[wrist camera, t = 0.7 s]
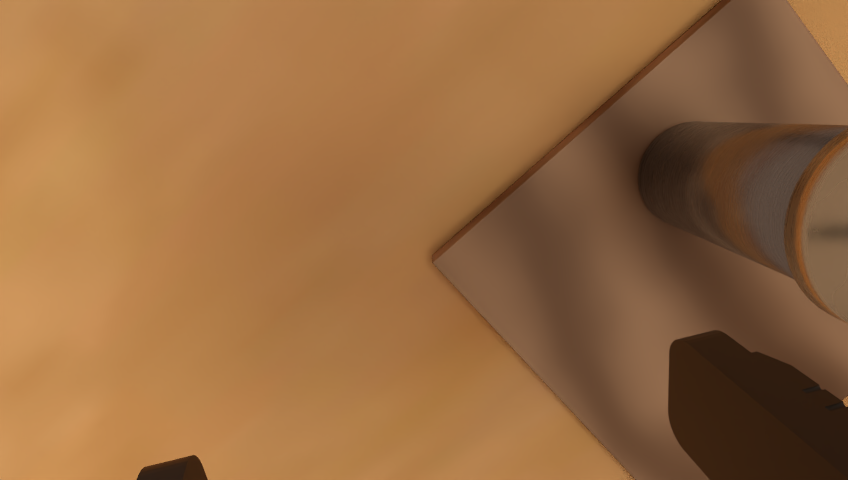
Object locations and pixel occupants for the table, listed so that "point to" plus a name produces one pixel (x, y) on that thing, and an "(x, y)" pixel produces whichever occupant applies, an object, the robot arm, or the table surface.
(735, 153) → the capstan
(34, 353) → the table surface
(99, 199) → the table surface
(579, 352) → the base
